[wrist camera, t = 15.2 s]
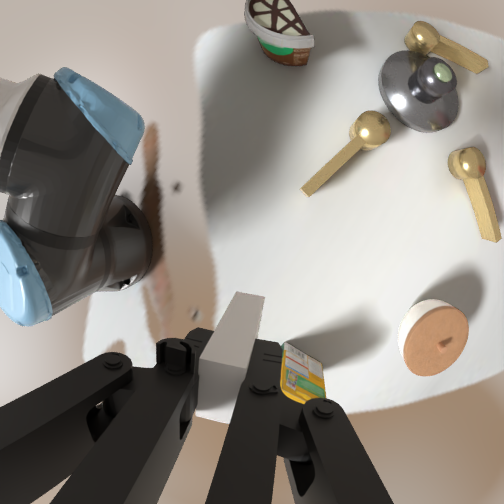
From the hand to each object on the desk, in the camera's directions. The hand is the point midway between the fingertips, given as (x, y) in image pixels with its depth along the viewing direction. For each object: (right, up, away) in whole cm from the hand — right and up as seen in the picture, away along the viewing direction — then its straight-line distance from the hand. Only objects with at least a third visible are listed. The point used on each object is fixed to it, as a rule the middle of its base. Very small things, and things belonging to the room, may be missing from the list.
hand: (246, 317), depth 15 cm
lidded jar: (+26, -7, +23) cm, 36 cm away
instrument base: (+28, +29, +16) cm, 43 cm away
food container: (+4, +33, +18) cm, 38 cm away
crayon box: (+7, -13, +27) cm, 31 cm away
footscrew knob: (+12, +16, +20) cm, 28 cm away
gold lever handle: (+34, +12, +18) cm, 40 cm away
